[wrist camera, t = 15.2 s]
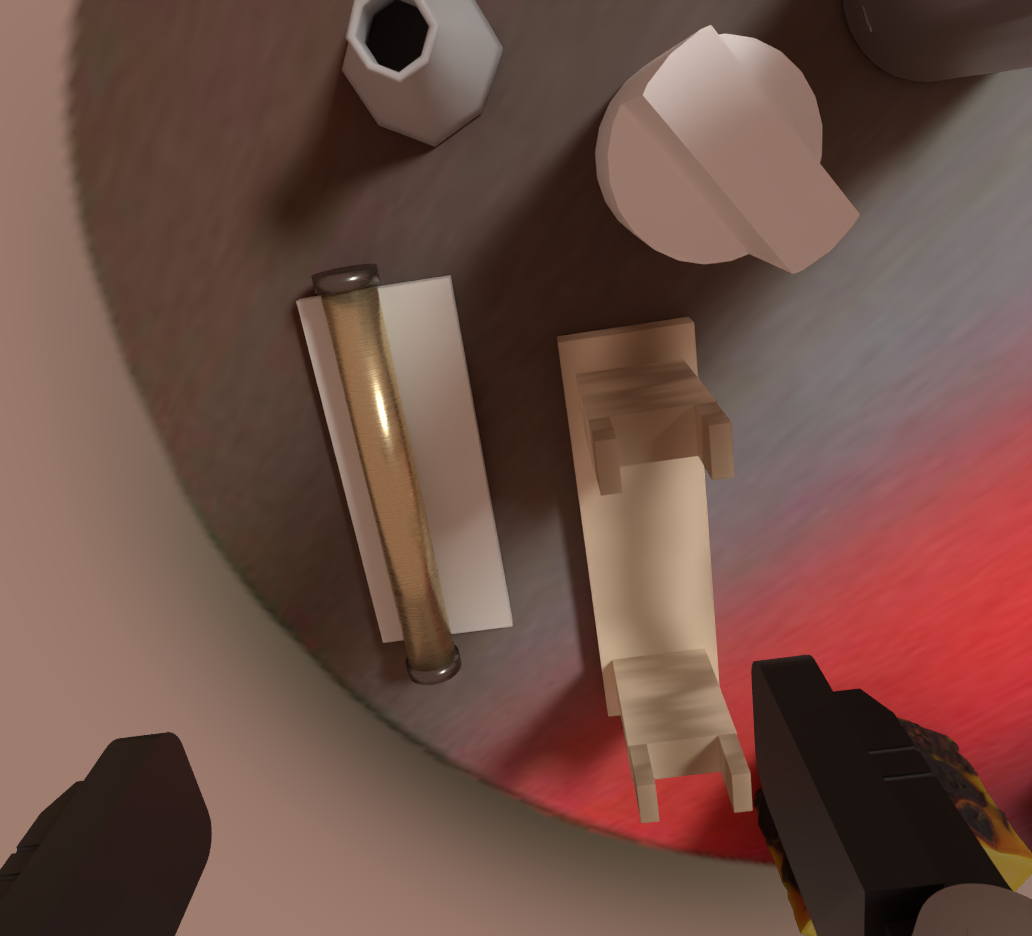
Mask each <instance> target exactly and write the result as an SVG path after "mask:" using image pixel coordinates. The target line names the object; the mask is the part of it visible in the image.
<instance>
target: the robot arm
mask: <svg viewBox="0 0 1032 936" xmlns="http://www.w3.org/2000/svg"><path fill="white" fill-rule="evenodd" d="M843 8H844V13H845V16H846V19H847V23H848V26H849V29H850V32H851V34H852V36H853V37H854V39H855V41H856V43H857V44H858V46H859V48H860V50H861V51H862V52H863V53H864V54H865V55H866V56H867V57H868V58H869V59H870V60H871V61H872V62H873V63H874V64H875V65H876V66H878V67H879V68H881V69H882V70H884V71H886V72H887V73H889V74H890V75H893V76H896V77H899V78H902V79H906V80H909V81H919V82H935V81H941V80H948V79H955V78H961V77H968V76H975V75H984V74H991V73H997V72H1003V71H1010V70H1016V69H1022V68H1029V67H1032V0H843ZM751 674H752V695H753V715H754V735H755V753H756V761H757V767H758V773H759V777H760V782H761V786H762V790H763V793H764V796H765V799H766V802H767V805H768V808H769V810H770V813H771V816H772V818H773V821H774V823H775V826H776V829H777V831H778V834H779V837H780V839H781V842H782V844H783V847H784V850H785V852H786V855H787V858H788V860H789V863H790V866H791V868H792V871H793V873H794V876H795V879H796V881H797V884H798V887H799V889H800V892H801V894H802V897H803V900H804V902H805V905H806V908H807V910H808V913H809V916H810V918H811V921H812V923H813V926H814V929H815V931H816V934H817V936H1032V899H1030V898H1028V897H1026V896H1023V895H1021V894H1019V893H1017V892H1014V891H1013V890H1012V889H1011V888H1010V886H1009V885H1008V884H1007V882H1006V881H1005V880H1004V878H1003V877H1002V875H1001V874H1000V872H999V871H998V869H997V868H996V866H995V865H994V863H993V862H992V860H991V859H990V857H989V856H988V854H987V853H986V851H985V850H984V848H983V847H982V845H981V844H980V842H979V841H978V839H977V838H976V836H975V835H974V833H973V832H972V830H971V829H970V827H969V826H968V824H967V823H966V821H965V820H964V818H963V817H962V815H961V814H960V812H959V811H958V809H957V808H956V806H955V804H954V803H953V801H952V800H951V798H950V797H949V795H948V794H947V792H946V791H945V789H944V788H943V786H942V785H941V783H940V782H939V780H938V779H937V778H934V777H933V774H932V770H931V768H930V767H929V765H928V764H927V762H926V761H925V759H924V758H923V756H922V755H921V753H920V752H919V751H916V749H915V744H914V743H913V741H912V740H911V738H910V737H909V735H908V734H907V732H906V731H905V729H904V728H903V726H902V725H901V723H900V722H899V720H898V719H897V717H896V716H895V714H894V713H893V712H891V711H890V710H889V709H887V708H886V707H885V706H883V705H882V704H880V703H879V702H878V701H876V700H875V699H874V698H872V697H871V696H869V695H868V694H867V693H865V692H864V691H862V690H861V689H852V690H844V691H836V692H833V691H832V689H831V687H830V685H829V684H828V682H827V680H826V679H825V677H824V675H823V673H822V672H821V670H820V668H819V666H818V665H817V663H816V661H815V660H814V658H813V657H812V656H810V655H801V656H793V657H785V658H777V659H769V660H761V661H754V662H753V664H752V671H751ZM211 834H212V833H211V821H210V816H209V813H208V810H207V807H206V805H205V802H204V799H203V797H202V794H201V792H200V789H199V786H198V784H197V781H196V779H195V776H194V774H193V771H192V768H191V766H190V763H189V761H188V758H187V755H186V753H185V750H184V748H183V745H182V743H181V741H180V740H179V738H178V737H177V736H176V735H175V734H173V733H170V732H167V733H159V734H151V735H143V736H135V737H127V738H119V739H116V740H114V741H112V742H111V743H110V744H109V745H108V746H107V748H106V749H105V751H104V752H103V753H102V755H101V756H100V758H99V759H98V761H97V762H96V764H95V765H94V767H93V768H92V770H91V771H90V773H89V774H88V775H87V777H86V778H85V780H84V781H79V782H76V783H75V784H73V785H72V786H71V787H70V788H69V789H68V790H67V791H65V792H64V793H63V794H62V795H61V796H60V797H59V798H58V799H56V800H55V801H54V802H53V803H52V804H51V805H49V806H48V807H47V808H46V809H45V810H44V811H43V812H41V814H40V815H39V816H38V818H37V819H36V821H35V822H34V823H33V825H32V826H31V828H30V829H29V830H28V832H27V833H26V835H25V836H24V837H23V839H22V840H21V842H20V843H19V844H18V846H17V852H16V853H14V854H11V856H10V857H9V858H8V860H7V861H6V863H5V864H4V865H3V867H2V868H1V869H0V936H175V934H176V932H177V930H178V927H179V925H180V923H181V920H182V918H183V916H184V914H185V911H186V909H187V907H188V904H189V902H190V900H191V898H192V895H193V893H194V891H195V888H196V886H197V884H198V881H199V879H200V877H201V875H202V872H203V870H204V868H205V865H206V863H207V860H208V856H209V853H210V847H211V836H212V835H211Z"/></svg>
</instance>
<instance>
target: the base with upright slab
mask: <svg viewBox="0 0 1032 936" xmlns="http://www.w3.org/2000/svg"><path fill="white" fill-rule="evenodd" d="M821 157H822V122H821V118H820V113H819V109H818V105H817V101H816V97H815V95H814V93H813V91H812V90H811V88H810V86H809V84H808V82H807V81H806V79H805V77H804V75H803V73H802V72H801V70H800V69H799V68H797V67H796V66H795V65H794V64H793V63H792V62H791V61H790V60H789V59H788V58H787V57H786V56H785V55H784V54H783V53H782V52H781V51H779V50H777V49H775V48H773V47H771V46H769V45H767V44H765V43H763V42H761V41H759V40H757V39H755V38H750V37H744V36H738V35H731V34H720V35H719V34H718V33H717V32H716V31H715V29H714V28H713V27H712V26H711V25H710V26H707V27H705V28H703V29H701V30H699V31H698V32H696V33H694V34H693V35H691V36H690V37H688V38H687V39H685V40H684V41H682V42H681V43H679V44H677V45H676V46H674V47H673V48H671V49H670V50H668V51H667V52H665V53H664V54H662V55H660V56H659V57H657V58H656V59H654V60H653V61H651V62H650V63H648V64H647V65H645V66H644V67H643V68H642V69H640V70H639V71H638V72H637V73H635V74H634V75H633V76H632V77H630V78H629V79H628V80H627V81H626V82H625V83H624V84H623V86H622V87H621V88H620V90H619V91H618V92H617V94H616V95H615V96H614V98H613V99H612V100H611V102H610V103H609V105H608V108H607V110H606V112H605V115H604V117H603V119H602V122H601V124H600V127H599V132H598V138H597V144H596V150H595V160H596V172H597V180H598V183H599V186H600V188H601V191H602V194H603V197H604V200H605V202H606V204H607V205H608V207H609V208H610V210H611V211H612V213H613V214H614V215H615V217H616V218H617V220H618V221H619V222H620V223H621V224H622V225H624V226H625V227H626V228H627V229H628V230H629V231H631V232H632V233H633V234H634V235H635V236H637V237H638V238H639V239H641V240H642V241H643V242H645V243H646V244H647V245H649V246H650V247H651V248H653V249H654V250H656V251H658V252H660V253H663V254H665V255H667V256H669V257H672V258H674V259H676V260H678V261H685V262H692V263H698V264H711V263H719V262H728V261H733V260H735V259H738V258H740V257H743V256H745V255H748V254H750V255H752V256H755V257H757V258H759V259H761V260H763V261H765V262H768V263H770V264H772V265H774V266H776V267H779V268H781V269H783V270H785V271H787V272H789V273H792V274H794V273H797V272H799V271H802V270H804V269H805V268H807V267H808V266H809V265H811V264H812V263H814V262H815V261H817V260H818V259H819V258H821V257H822V256H824V255H825V254H827V253H828V252H829V251H831V250H832V249H833V248H834V246H835V245H836V244H837V243H838V242H839V241H840V240H841V239H842V238H843V236H844V235H845V234H846V233H847V232H848V231H849V230H850V229H851V228H852V226H853V225H854V224H855V223H856V221H857V219H858V217H859V215H860V214H859V213H858V211H857V210H856V209H855V207H854V206H853V205H852V204H851V202H850V201H849V200H848V199H847V197H846V196H845V195H844V193H843V192H842V191H841V190H840V188H839V187H838V186H837V185H836V183H835V182H834V181H833V179H832V178H831V177H830V176H829V174H828V173H827V172H826V171H825V169H824V168H823V167H822V165H821V164H820V161H821Z"/></svg>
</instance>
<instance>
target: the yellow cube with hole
mask: <svg viewBox="0 0 1032 936" xmlns="http://www.w3.org/2000/svg"><path fill="white" fill-rule="evenodd" d="M897 719H898V720H899V722H900V723H901V725H902V726H903V728H904V729H905V731H906V732H907V734H908V735H909V737H910V738H911V740H912V741H913V743H914V744H915V749H916V751H919V752H920V753H921V755H922V756H923V758H924V759H925V761H926V762H927V764H928V765H929V767H930V768H931V770H932V774H933V777H934V778H937V779H938V780H939V782H940V783H941V785H942V786H943V788H944V789H945V791H946V792H947V794H948V795H949V797H950V798H951V800H952V801H953V803H954V804H955V806H956V808H957V809H958V811H959V812H960V814H961V815H962V817H963V818H964V820H965V821H966V823H967V824H968V826H969V827H970V829H971V830H972V832H973V833H974V835H975V836H976V838H977V839H978V841H979V842H980V844H981V845H982V847H983V848H984V850H985V851H986V853H987V854H988V856H989V857H990V859H991V860H992V862H993V863H994V865H995V866H996V868H997V869H998V871H999V872H1000V874H1001V875H1002V877H1003V878H1004V880H1005V881H1006V882H1007V884H1008V885H1009V886H1010V888H1011V889H1012V890H1013V891H1014V892H1015V891H1016V890H1017V889H1018V888H1019V887H1020V886H1021V885H1022V884H1023V883H1024V881H1025V880H1026V879H1027V878H1028V877H1029V876H1030V875H1031V874H1032V853H1031V851H1030V850H1029V849H1028V848H1027V847H1026V845H1025V844H1024V843H1023V842H1022V840H1021V839H1020V838H1019V837H1018V835H1017V834H1016V833H1015V832H1014V830H1013V829H1012V827H1011V825H1010V824H1009V822H1008V820H1007V818H1006V816H1005V813H1004V812H1002V811H1001V810H1000V809H998V807H997V806H996V804H995V803H994V802H993V800H992V799H991V798H990V796H989V795H988V794H987V792H986V790H985V788H984V786H983V784H982V782H981V781H980V779H979V778H978V775H977V772H975V771H974V768H973V767H972V766H971V764H970V763H969V762H968V761H967V760H966V759H965V758H964V757H963V756H962V755H961V754H959V747H958V745H957V744H956V743H955V742H954V741H953V740H952V739H951V738H950V737H947V736H945V735H942V734H940V733H937V732H934V731H931V730H928V729H925V728H922V727H921V726H919V725H918V724H914V723H912V722H910V721H907V720H904V719H900V718H897ZM754 806H755V808H756V810H757V813H758V825H759V827H760V830H761V832H762V834H763V836H764V837H765V838H766V844H767V847H768V849H769V851H770V852H771V854H772V856H773V858H774V861H775V863H776V866H777V868H778V871H779V874H780V877H781V880H782V883H783V884H784V886H785V887H786V889H787V891H788V899H789V901H790V904H791V906H792V908H793V911H794V916H795V920H796V922H797V925H798V928H799V931H800V933H801V934H804V935H807V936H817V934H816V931H815V929H814V926H813V923H812V921H811V918H810V916H809V913H808V910H807V908H806V905H805V902H804V900H803V897H802V894H801V892H800V889H799V887H798V884H797V881H796V879H795V876H794V873H793V871H792V868H791V866H790V863H789V860H788V858H787V855H786V852H785V850H784V847H783V844H782V842H781V839H780V837H779V834H778V831H777V829H776V826H775V823H774V821H773V818H772V816H771V813H770V810H769V808H768V805H767V802H766V799H765V796H764V793H763V790H762V787H761V788H760V789H759V790H758V792H757V793H756V795H755V799H754Z"/></svg>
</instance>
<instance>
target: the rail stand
mask: <svg viewBox="0 0 1032 936" xmlns="http://www.w3.org/2000/svg"><path fill="white" fill-rule="evenodd" d="M557 343H558V350H559V358H560V365H561V372H562V380H563V387H564V395H565V402H566V409H567V417H568V424H569V432H570V439H571V446H572V454H573V461H574V469H575V476H576V484H577V491H578V498H579V506H580V513H581V521H582V528H583V535H584V543H585V550H586V558H587V565H588V572H589V580H590V587H591V595H592V602H593V610H594V617H595V624H596V632H597V639H598V647H599V654H600V661H601V669H602V676H603V684H604V691H605V698H606V705H607V711H608V717H609V716H618V715H621V720H622V725H623V731H624V736H625V742H626V747H627V753H628V758H629V764H630V769H631V775H632V780H633V782H634V786H635V792H636V797H637V803H638V808H639V814H640V819H641V823H648V822H657V821H659V813H658V805H657V796H656V787H655V781H654V779H660V778H669V777H678V776H686V775H695V774H703V773H712V772H721V774H722V777H723V780H724V783H725V786H726V789H727V792H728V795H729V798H730V801H731V804H732V807H733V810H734V813H736V812H745V811H753V809H752V791H751V773H750V770H749V767H748V765H747V762H746V759H745V757H744V754H743V751H742V749H741V746H740V743H739V741H738V738H737V732H736V730H735V727H734V724H733V722H732V719H731V716H730V714H729V711H728V708H727V706H726V703H725V700H724V698H723V695H722V692H721V690H720V687H719V674H718V659H717V645H716V631H715V616H714V602H713V587H712V573H711V558H710V544H709V529H708V515H707V501H706V486H705V472H704V467H705V468H706V470H707V472H708V474H709V475H710V477H711V479H712V480H719V479H726V478H734V459H733V440H732V422H731V421H730V420H729V418H728V417H727V416H726V415H725V413H724V412H723V411H722V409H721V408H720V407H719V406H718V404H717V401H716V400H715V399H714V398H713V396H712V395H711V394H710V392H709V391H708V390H707V389H706V387H705V386H704V385H703V384H702V382H701V381H700V380H699V378H698V371H697V356H696V342H695V327H694V322H693V321H692V320H691V319H690V318H689V317H683V318H676V319H669V320H663V321H656V322H649V323H643V324H636V325H629V326H623V327H616V328H609V329H603V330H596V331H589V332H583V333H576V334H569V335H563V336H557Z"/></svg>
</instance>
